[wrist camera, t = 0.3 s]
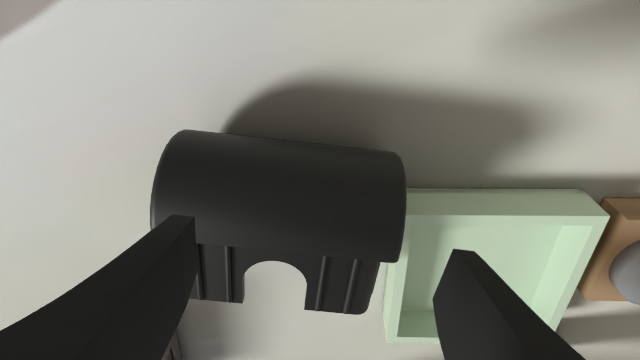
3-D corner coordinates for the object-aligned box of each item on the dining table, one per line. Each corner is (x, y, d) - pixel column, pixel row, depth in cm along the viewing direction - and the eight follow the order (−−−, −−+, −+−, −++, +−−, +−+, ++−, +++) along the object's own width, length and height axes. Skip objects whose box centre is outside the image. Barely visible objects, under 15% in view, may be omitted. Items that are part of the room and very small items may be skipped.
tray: (530, 313, 26) (548, 345, 24) (382, 310, 26) (386, 342, 24) (581, 188, 21) (610, 216, 19) (395, 188, 21) (402, 215, 19)
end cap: (393, 126, 19) (418, 201, 13) (369, 233, 23) (380, 328, 17) (197, 104, 19) (137, 171, 13) (204, 216, 23) (160, 307, 17)
